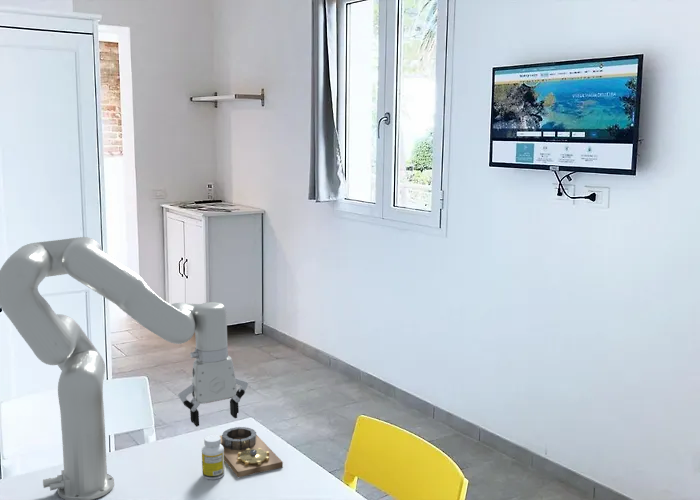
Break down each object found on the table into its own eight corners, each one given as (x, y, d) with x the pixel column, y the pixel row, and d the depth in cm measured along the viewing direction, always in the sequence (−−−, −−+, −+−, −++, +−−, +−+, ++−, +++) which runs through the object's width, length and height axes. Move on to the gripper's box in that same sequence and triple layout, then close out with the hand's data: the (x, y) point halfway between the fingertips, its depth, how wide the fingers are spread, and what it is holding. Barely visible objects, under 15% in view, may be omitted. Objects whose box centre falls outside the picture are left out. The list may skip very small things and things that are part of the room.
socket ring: (229, 452, 186) (228, 443, 185) (218, 439, 193) (218, 430, 193) (260, 445, 190) (260, 437, 190) (249, 433, 198) (248, 424, 197)
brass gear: (243, 468, 177) (243, 461, 177) (232, 455, 184) (232, 447, 184) (274, 461, 181) (274, 454, 181) (262, 448, 188) (262, 441, 188)
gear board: (238, 477, 176) (237, 471, 175) (210, 442, 195) (210, 437, 194) (282, 467, 181) (282, 461, 181) (251, 434, 200) (251, 429, 200)
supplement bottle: (207, 468, 180) (206, 432, 178) (227, 471, 179) (227, 434, 177) (198, 479, 175) (198, 441, 173) (219, 481, 174) (218, 444, 172)
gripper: (181, 364, 164) (184, 433, 167) (251, 352, 172) (253, 418, 175) (172, 355, 171) (176, 422, 174) (240, 344, 179) (243, 408, 182)
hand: (215, 420), depth 175 cm, fingers open, 9 cm apart
